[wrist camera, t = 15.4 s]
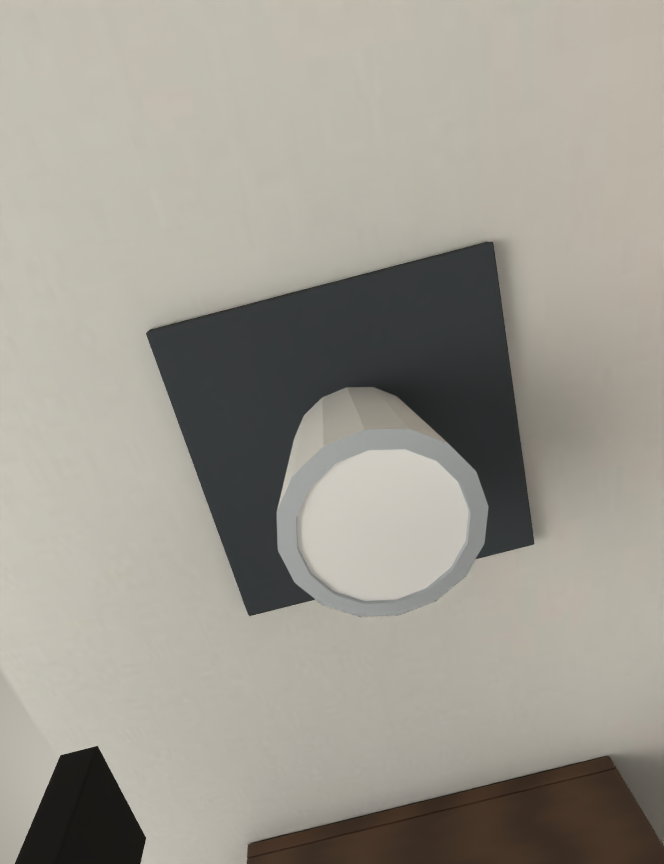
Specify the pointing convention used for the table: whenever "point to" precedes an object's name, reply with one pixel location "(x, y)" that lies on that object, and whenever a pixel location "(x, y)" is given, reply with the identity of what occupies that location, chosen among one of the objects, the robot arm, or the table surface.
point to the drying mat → (337, 369)
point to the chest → (490, 827)
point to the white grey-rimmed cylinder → (377, 507)
